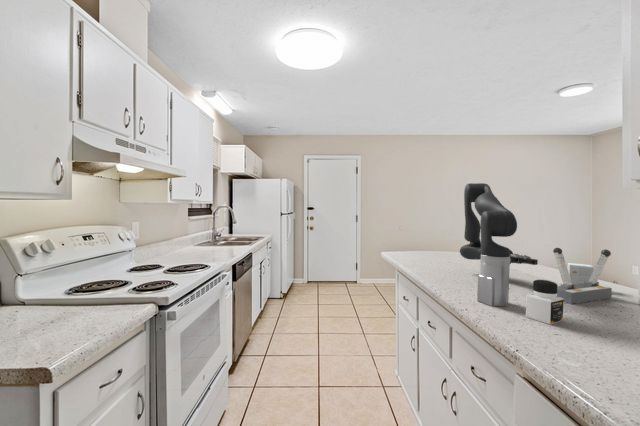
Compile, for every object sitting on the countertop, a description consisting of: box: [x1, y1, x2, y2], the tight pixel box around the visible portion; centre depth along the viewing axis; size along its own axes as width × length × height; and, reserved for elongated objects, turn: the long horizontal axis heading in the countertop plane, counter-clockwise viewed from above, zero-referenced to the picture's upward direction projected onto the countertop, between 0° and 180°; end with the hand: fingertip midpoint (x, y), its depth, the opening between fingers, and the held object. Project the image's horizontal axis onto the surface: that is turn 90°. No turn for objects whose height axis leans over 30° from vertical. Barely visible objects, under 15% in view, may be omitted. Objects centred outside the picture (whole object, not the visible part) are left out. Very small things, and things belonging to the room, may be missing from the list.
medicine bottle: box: [525, 279, 564, 326], centre depth 94 cm, size 7×7×12 cm
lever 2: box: [588, 249, 612, 286], centre depth 118 cm, size 3×3×16 cm
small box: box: [567, 262, 595, 284], centre depth 131 cm, size 8×6×10 cm
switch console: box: [556, 281, 613, 305], centre depth 117 cm, size 24×8×6 cm, turn 110°
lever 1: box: [552, 247, 573, 289], centre depth 117 cm, size 3×3×16 cm
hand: (536, 262), depth 126 cm, fingers closed
